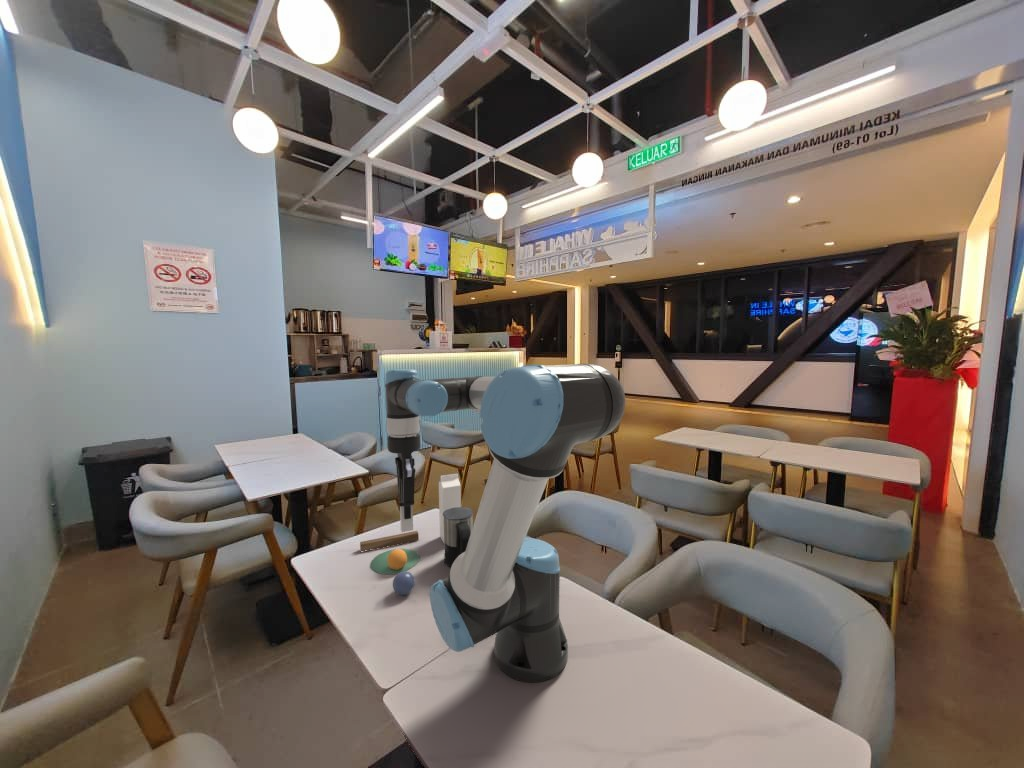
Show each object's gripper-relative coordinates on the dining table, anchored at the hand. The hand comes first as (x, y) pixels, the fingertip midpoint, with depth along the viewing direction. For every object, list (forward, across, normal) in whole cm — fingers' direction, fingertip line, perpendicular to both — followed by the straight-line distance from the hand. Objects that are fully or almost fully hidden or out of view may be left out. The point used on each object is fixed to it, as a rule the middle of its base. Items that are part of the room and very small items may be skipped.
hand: (406, 529), depth 96 cm
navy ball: (+17, +6, 0) cm, 18 cm away
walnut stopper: (+19, +34, 0) cm, 39 cm away
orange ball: (+17, +19, 0) cm, 25 cm away
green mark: (+19, +23, 0) cm, 30 cm away
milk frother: (+20, +14, -21) cm, 32 cm away
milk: (+20, +30, -19) cm, 40 cm away
